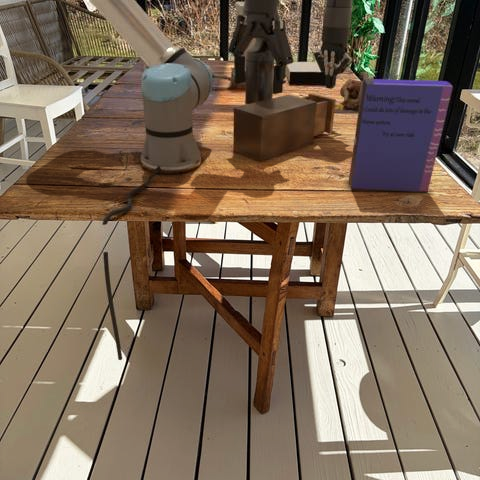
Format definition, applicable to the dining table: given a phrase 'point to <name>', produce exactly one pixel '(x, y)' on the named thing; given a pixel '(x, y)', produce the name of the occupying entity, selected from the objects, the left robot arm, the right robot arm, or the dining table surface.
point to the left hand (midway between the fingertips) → (258, 87)
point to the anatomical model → (352, 91)
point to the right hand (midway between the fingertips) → (329, 88)
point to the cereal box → (398, 134)
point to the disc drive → (304, 73)
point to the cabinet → (273, 126)
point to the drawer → (324, 113)
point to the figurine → (232, 79)
